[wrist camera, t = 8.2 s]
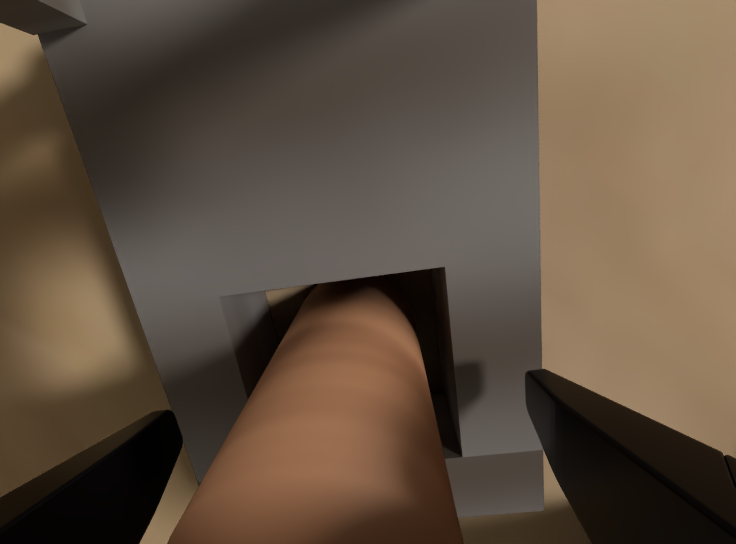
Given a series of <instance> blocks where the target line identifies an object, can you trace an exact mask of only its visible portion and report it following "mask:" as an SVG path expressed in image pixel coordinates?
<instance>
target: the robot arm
mask: <svg viewBox="0 0 736 544" xmlns="http://www.w3.org/2000/svg"><path fill="white" fill-rule="evenodd" d="M525 401H526V407H527V411H528V414H529V416H530V418H531V421H532V423H533V426H534V428H535V430H536V433H537V435H538V437H539V440H540V442H541V445H542V447H543V449H544V452H545V454H546V456H547V459H548V461H549V464H550V466H551V468H552V470H553V473H554V475H555V477H556V479H557V481H558V483H559V485H560V487H561V489H562V491H563V492H564V494H565V496H566V498H567V500H568V501H569V503H570V505H571V507H572V509H573V510H574V512H575V514H576V516H577V518H578V520H579V521H580V523H581V525H582V527H583V529H584V530H585V532H586V534H587V536H588V538H589V540H590V541H591V543H592V544H736V458H734V457H732V456H729V455H725V456H724V455H723V453H722V452H721V451H719V450H716V449H714V448H712V447H710V446H708V445H706V444H704V443H702V442H699V441H697V440H695V439H693V438H691V437H689V436H687V435H684V434H682V433H680V432H678V431H676V430H674V429H672V428H670V427H667V426H665V425H663V424H661V423H659V422H657V421H655V420H653V419H650V418H648V417H646V416H644V415H642V414H640V413H638V412H636V411H633V410H631V409H629V408H627V407H625V406H623V405H621V404H618V403H616V402H614V401H612V400H610V399H608V398H606V397H604V396H601V395H599V394H597V393H595V392H593V391H591V390H589V389H587V388H584V387H582V386H580V385H578V384H576V383H574V382H572V381H569V380H567V379H565V378H563V377H561V376H559V375H557V374H555V373H552V372H550V371H548V370H546V369H537V370H529V371H527V372H526V373H525ZM182 445H183V437H182V433H181V431H180V428H179V425H178V422H177V419H176V417H175V414H174V413H173V412H172V411H171V410H162V411H155V412H152V413H150V414H148V415H146V416H145V417H143V418H141V419H139V420H137V421H136V422H134V423H132V424H130V425H129V426H127V427H125V428H123V429H121V430H120V431H118V432H116V433H114V434H113V435H111V436H109V437H107V438H105V439H104V440H102V441H100V442H98V443H96V444H95V445H93V446H91V447H89V448H88V449H86V450H84V451H82V452H80V453H79V454H77V455H75V456H73V457H72V458H70V459H68V460H66V461H64V462H63V463H61V464H59V465H57V466H55V467H54V468H52V469H50V470H48V471H47V472H45V473H43V474H41V475H39V476H38V477H36V478H34V479H32V480H31V481H29V482H27V483H25V484H23V485H22V486H20V487H18V488H16V489H15V490H13V491H11V492H9V493H7V494H6V495H4V496H2V497H0V544H139V543H140V541H141V539H142V537H143V535H144V533H145V532H146V530H147V528H148V526H149V524H150V522H151V520H152V518H153V516H154V513H155V511H156V509H157V507H158V504H159V502H160V500H161V497H162V495H163V493H164V490H165V488H166V485H167V483H168V480H169V478H170V475H171V473H172V471H173V468H174V466H175V463H176V461H177V458H178V456H179V454H180V451H181V449H182Z"/></svg>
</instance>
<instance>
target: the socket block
mask: <svg viewBox="0 0 736 544" xmlns="http://www.w3.org/2000/svg"><path fill="white" fill-rule="evenodd" d="M0 23H3V24H5V25H8V26H11V27H13V28H16V29H18V30H21V31H24V32H26V33H29V34H32V35H36V34H38V37H39V39H40V42H41V45H42V48H43V51H44V53H45V56H46V59H47V62H48V65H49V67H50V70H51V73H52V76H53V79H54V81H55V84H56V87H57V90H58V93H59V95H60V98H61V101H62V104H63V107H64V109H65V112H66V115H67V118H68V121H69V123H70V126H71V129H72V132H73V135H74V137H75V140H76V143H77V146H78V149H79V151H80V154H81V157H82V160H83V163H84V165H85V168H86V171H87V174H88V177H89V179H90V182H91V185H92V188H93V191H94V193H95V196H96V199H97V202H98V205H99V207H100V210H101V213H102V216H103V219H104V221H105V224H106V227H107V230H108V233H109V235H110V238H111V241H112V244H113V247H114V249H115V252H116V255H117V258H118V261H119V263H120V266H121V269H122V272H123V275H124V277H125V280H126V283H127V286H128V289H129V291H130V294H131V297H132V300H133V303H134V305H135V308H136V311H137V314H138V317H139V319H140V322H141V325H142V328H143V331H144V333H145V336H146V339H147V342H148V345H149V347H150V350H151V353H152V356H153V359H154V361H155V364H156V367H157V370H158V373H159V375H160V378H161V381H162V384H163V387H164V389H165V392H166V395H167V398H168V401H169V403H170V406H171V409H172V412H173V413H174V414H175V417H176V419H177V422H178V425H179V428H180V431H181V433H182V437H183V443H184V445H185V448H186V451H187V454H188V457H189V459H190V462H191V465H192V468H193V471H194V473H195V476H196V479H197V482H198V485H200V484H201V482H202V480H203V478H204V476H205V475H206V473H207V471H208V469H209V468H210V466H211V464H212V462H213V461H214V459H215V457H216V455H217V454H218V452H219V450H220V448H221V447H222V445H223V443H224V441H225V440H226V438H227V436H228V434H229V433H230V431H231V429H232V427H233V425H234V424H235V422H236V420H237V418H238V417H239V415H240V413H241V411H242V410H243V408H244V406H245V404H246V403H247V401H248V399H249V397H250V396H251V394H252V392H253V390H254V389H255V387H256V385H257V383H258V382H259V380H260V378H261V376H262V375H263V373H264V371H265V369H266V367H267V366H268V364H269V362H270V360H271V359H272V357H273V355H274V353H275V352H276V350H277V348H278V343H277V339H276V334H275V330H274V326H273V322H272V318H271V314H270V310H269V306H268V302H267V298H266V293H265V291H266V290H273V289H281V288H288V287H296V286H303V285H311V284H318V283H326V282H333V281H341V280H349V279H356V278H364V277H371V276H379V275H386V274H394V273H401V272H409V271H416V270H424V269H431V270H432V279H433V289H434V299H435V308H436V318H437V328H438V337H439V347H440V356H441V366H442V376H443V385H444V392H440V393H431V399H432V403H433V408H434V413H435V417H436V422H437V426H438V431H439V435H440V440H441V444H442V449H443V453H444V458H445V462H446V467H447V471H448V476H449V480H450V485H451V489H452V494H453V498H454V503H455V507H456V512H457V516H458V518H460V517H472V516H485V515H497V514H510V513H522V512H535V511H544V480H543V447H542V445H541V442H540V440H539V437H538V435H537V433H536V430H535V428H534V426H533V423H532V421H531V418H530V416H529V414H528V411H527V407H526V401H525V373H526V372H527V371H529V370H537V369H542V340H541V269H540V199H539V129H538V59H537V0H0Z"/></svg>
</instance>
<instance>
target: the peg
mask: <svg viewBox="0 0 736 544" xmlns="http://www.w3.org/2000/svg"><path fill="white" fill-rule="evenodd" d="M167 544H464V543H463V539H462V534H461V530H460V525H459V521H458V516H457V512H456V507H455V503H454V498H453V494H452V489H451V485H450V480H449V476H448V471H447V467H446V462H445V458H444V453H443V449H442V444H441V440H440V435H439V431H438V426H437V422H436V417H435V413H434V408H433V403H432V399H431V394H430V390H429V385H428V381H427V376H426V372H425V367H424V363H423V358H422V354H421V349H420V345H419V340H418V336H417V331H416V327H415V322H414V318H413V314H412V311H411V308H410V306H409V304H408V302H407V300H406V299H405V297H404V296H403V294H402V293H401V292H400V291H399V290H398V289H397V288H396V287H395V286H393V285H392V284H391V283H389V282H388V281H386V280H384V279H382V278H380V277H378V276H371V277H364V278H356V279H349V280H341V281H333V282H326V283H320V284H318V285H317V286H316V287H315V288H314V289H313V290H312V291H311V292H310V293H309V294H308V296H307V298H306V299H305V301H304V302H303V304H302V306H301V308H300V309H299V311H298V313H297V315H296V316H295V318H294V320H293V322H292V323H291V325H290V327H289V329H288V331H287V332H286V334H285V336H284V338H283V339H282V341H281V343H280V345H279V346H278V348H277V350H276V352H275V353H274V355H273V357H272V359H271V360H270V362H269V364H268V366H267V367H266V369H265V371H264V373H263V375H262V376H261V378H260V380H259V382H258V383H257V385H256V387H255V389H254V390H253V392H252V394H251V396H250V397H249V399H248V401H247V403H246V404H245V406H244V408H243V410H242V411H241V413H240V415H239V417H238V418H237V420H236V422H235V424H234V425H233V427H232V429H231V431H230V433H229V434H228V436H227V438H226V440H225V441H224V443H223V445H222V447H221V448H220V450H219V452H218V454H217V455H216V457H215V459H214V461H213V462H212V464H211V466H210V468H209V469H208V471H207V473H206V475H205V476H204V478H203V480H202V482H201V484H200V485H199V487H198V489H197V491H196V492H195V494H194V496H193V498H192V499H191V501H190V503H189V505H188V506H187V508H186V510H185V512H184V513H183V515H182V517H181V519H180V520H179V522H178V524H177V526H176V528H175V529H174V531H173V533H172V535H171V536H170V539H169V541H168V543H167Z"/></svg>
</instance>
